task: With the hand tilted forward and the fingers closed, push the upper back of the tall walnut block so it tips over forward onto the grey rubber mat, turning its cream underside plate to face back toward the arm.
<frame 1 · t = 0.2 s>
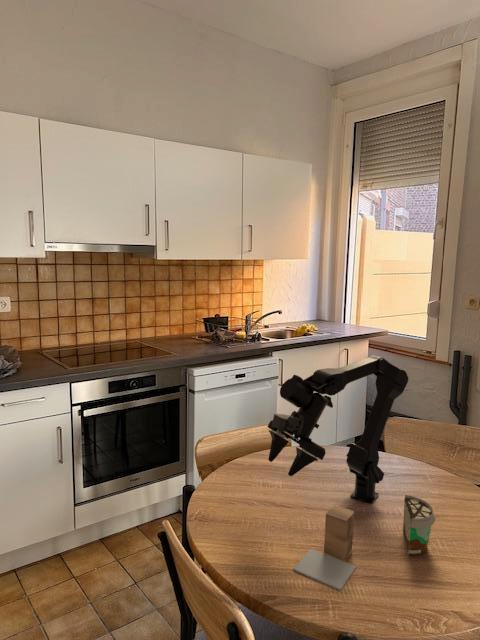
hand: (279, 468, 121), 15 cm above the table, tool tilted 35°, fingers open, 9 cm apart
walnut block: (337, 552, 111), on the table
food container: (418, 547, 115), on the table
mat: (324, 569, 105), on the table
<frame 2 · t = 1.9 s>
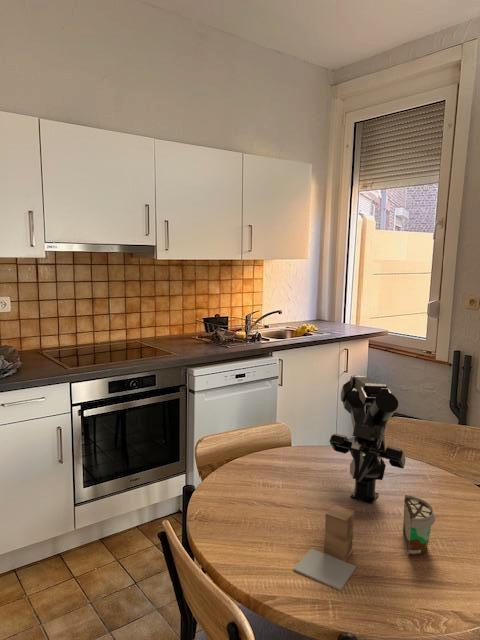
hand: (357, 481, 118), 14 cm above the table, tool tilted 45°, fingers closed
nothing on the table moved.
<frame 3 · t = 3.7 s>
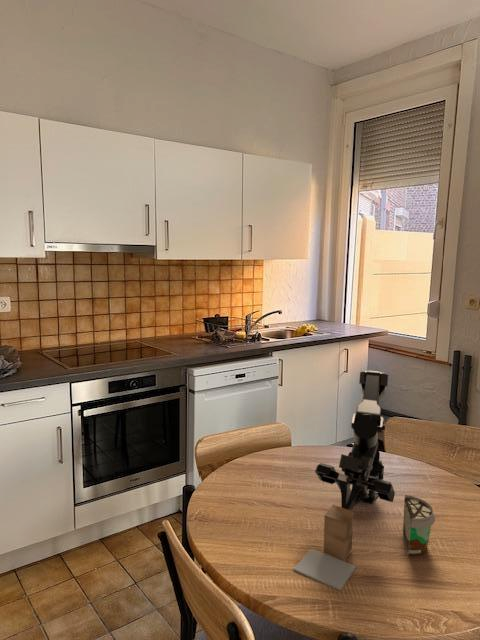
hand: (343, 515, 112), 8 cm above the table, tool tilted 45°, fingers closed, pressing on walnut block
walnut block: (337, 551, 111), on the table, touching gripper
everything else where it was.
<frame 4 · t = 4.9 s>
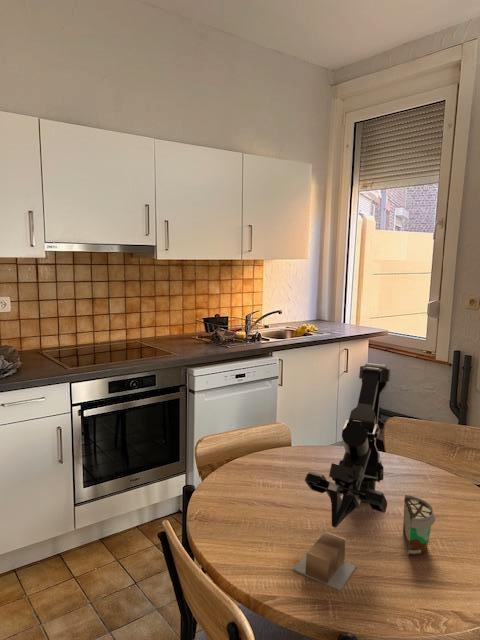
hand: (333, 526, 107), 8 cm above the table, tool tilted 45°, fingers closed
walnut block: (334, 545, 109), point 3 cm above the table, tilted 90°, touching mat
everything else where it was.
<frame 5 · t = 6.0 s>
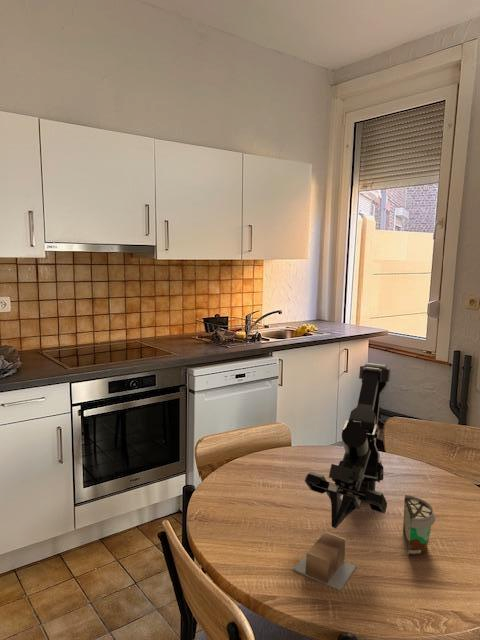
hand: (333, 527, 107), 8 cm above the table, tool tilted 45°, fingers closed
nothing on the table moved.
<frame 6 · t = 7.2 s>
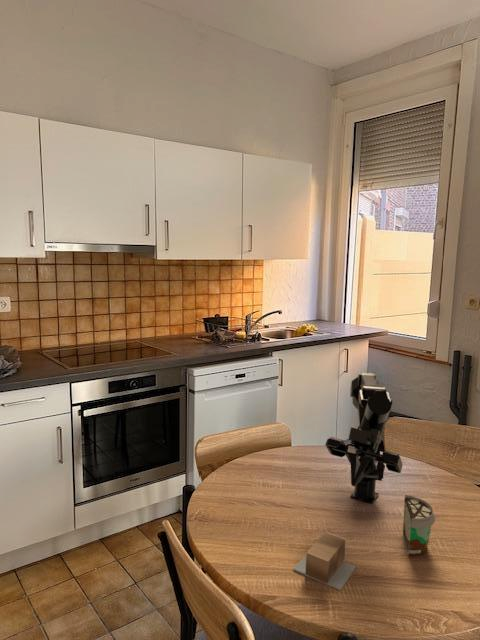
hand: (353, 485, 116), 13 cm above the table, tool tilted 45°, fingers closed
nothing on the table moved.
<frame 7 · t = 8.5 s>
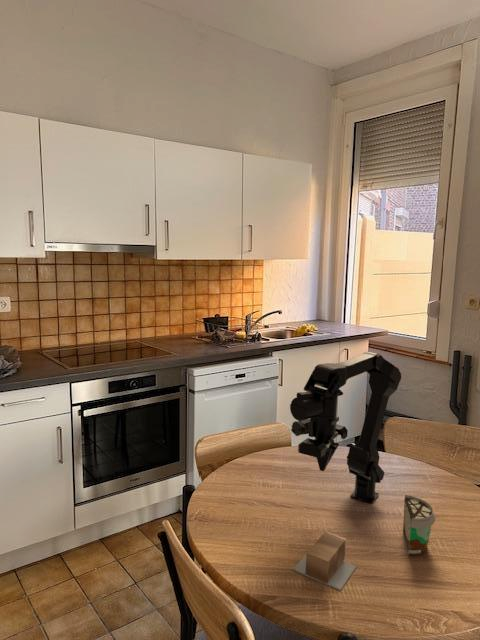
hand: (322, 470, 125), 13 cm above the table, tool pointing down, fingers closed
nothing on the table moved.
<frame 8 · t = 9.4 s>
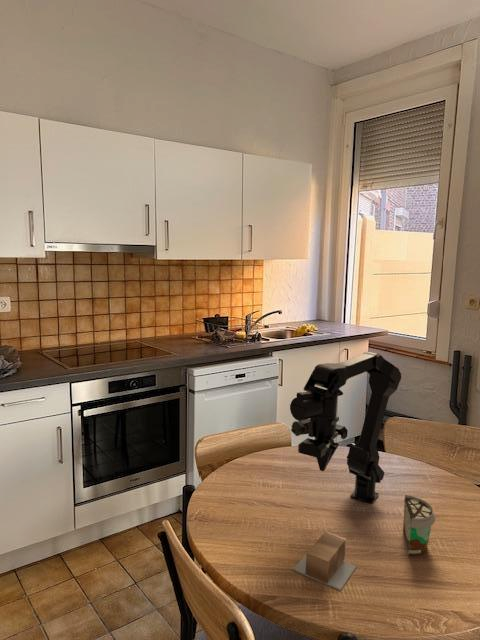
hand: (322, 470, 125), 13 cm above the table, tool pointing down, fingers closed
nothing on the table moved.
at the end: walnut block tilted 90°; walnut block inside the target area (6.3 cm from its centre), point 2.9 cm above the table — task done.
